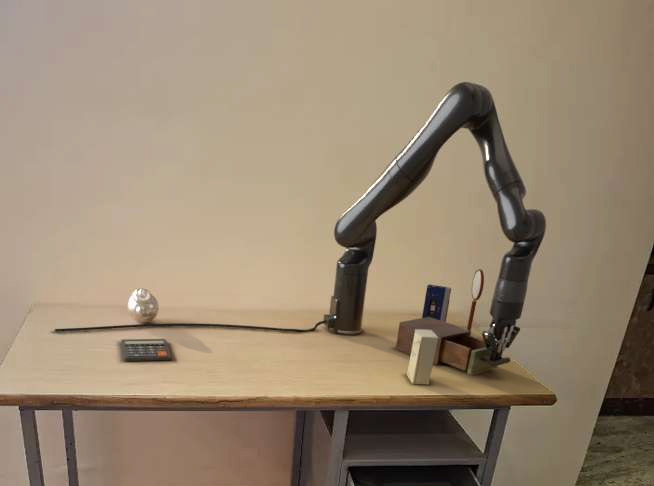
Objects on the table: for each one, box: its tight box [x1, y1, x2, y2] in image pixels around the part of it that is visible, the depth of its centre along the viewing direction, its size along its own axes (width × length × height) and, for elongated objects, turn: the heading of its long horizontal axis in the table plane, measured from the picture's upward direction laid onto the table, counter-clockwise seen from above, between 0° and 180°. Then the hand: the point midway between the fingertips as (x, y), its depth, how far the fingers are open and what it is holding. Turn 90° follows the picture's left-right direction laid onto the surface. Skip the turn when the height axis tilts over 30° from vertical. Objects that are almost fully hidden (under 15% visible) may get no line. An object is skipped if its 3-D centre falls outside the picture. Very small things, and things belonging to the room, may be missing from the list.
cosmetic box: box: [406, 329, 438, 385], centre depth 173 cm, size 6×4×12 cm
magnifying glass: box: [466, 268, 485, 332], centre depth 206 cm, size 9×2×20 cm, turn 0°
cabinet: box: [395, 317, 472, 366], centre depth 193 cm, size 15×12×8 cm
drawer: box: [439, 334, 511, 375], centre depth 184 cm, size 19×11×6 cm, turn 38°
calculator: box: [120, 338, 172, 362], centre depth 182 cm, size 12×1×15 cm
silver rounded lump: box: [127, 287, 160, 324], centre depth 201 cm, size 9×10×10 cm
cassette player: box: [421, 284, 452, 323], centre depth 218 cm, size 7×2×12 cm, turn 67°
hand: (493, 365), depth 180 cm, fingers closed
